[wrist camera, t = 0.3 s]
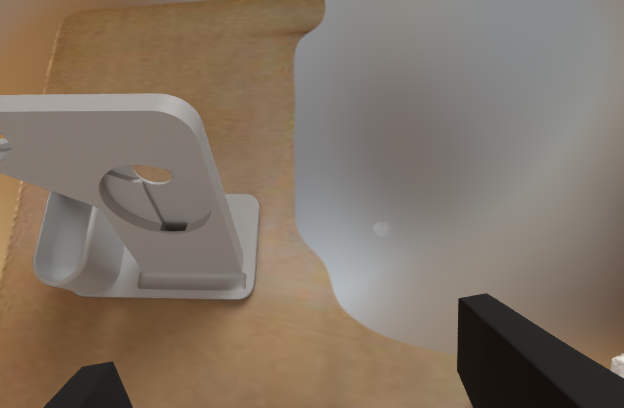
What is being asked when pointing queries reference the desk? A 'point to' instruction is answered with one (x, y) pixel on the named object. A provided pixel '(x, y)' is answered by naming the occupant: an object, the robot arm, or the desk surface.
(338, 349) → the desk surface
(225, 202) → the phone holder
